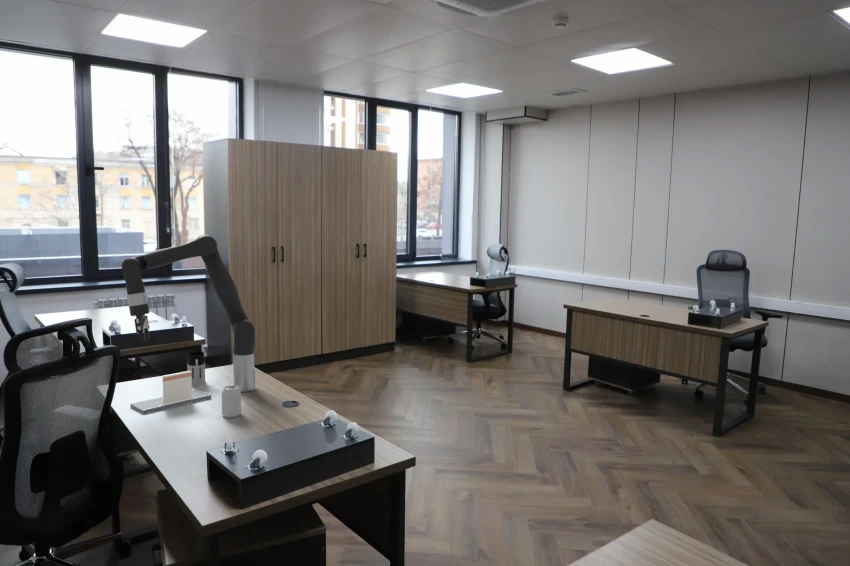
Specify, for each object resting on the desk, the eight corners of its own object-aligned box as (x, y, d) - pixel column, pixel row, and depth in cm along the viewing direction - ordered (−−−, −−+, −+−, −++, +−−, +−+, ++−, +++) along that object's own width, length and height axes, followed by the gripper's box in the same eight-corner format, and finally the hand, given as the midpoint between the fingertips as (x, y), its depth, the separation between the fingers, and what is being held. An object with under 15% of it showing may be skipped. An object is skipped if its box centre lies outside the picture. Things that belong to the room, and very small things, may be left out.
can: (244, 412, 248) (243, 384, 247) (236, 419, 241) (236, 390, 239) (226, 411, 249) (226, 383, 247) (218, 417, 241) (218, 389, 240)
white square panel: (190, 397, 260) (190, 370, 258) (192, 398, 259) (191, 371, 257) (163, 403, 251) (162, 375, 249) (164, 404, 250) (163, 376, 248)
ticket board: (198, 392, 274) (197, 388, 273) (211, 398, 266) (211, 394, 266) (130, 407, 251) (130, 403, 251) (143, 414, 243) (142, 410, 243)
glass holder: (205, 380, 292) (205, 350, 291) (207, 388, 280) (206, 357, 278) (186, 382, 289) (185, 351, 287) (187, 390, 276) (186, 358, 274)
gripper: (144, 303, 250) (151, 341, 251) (151, 301, 264) (157, 337, 265) (124, 306, 248) (131, 344, 249) (132, 304, 262) (139, 340, 263)
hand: (145, 340), depth 257 cm, fingers open, 8 cm apart
